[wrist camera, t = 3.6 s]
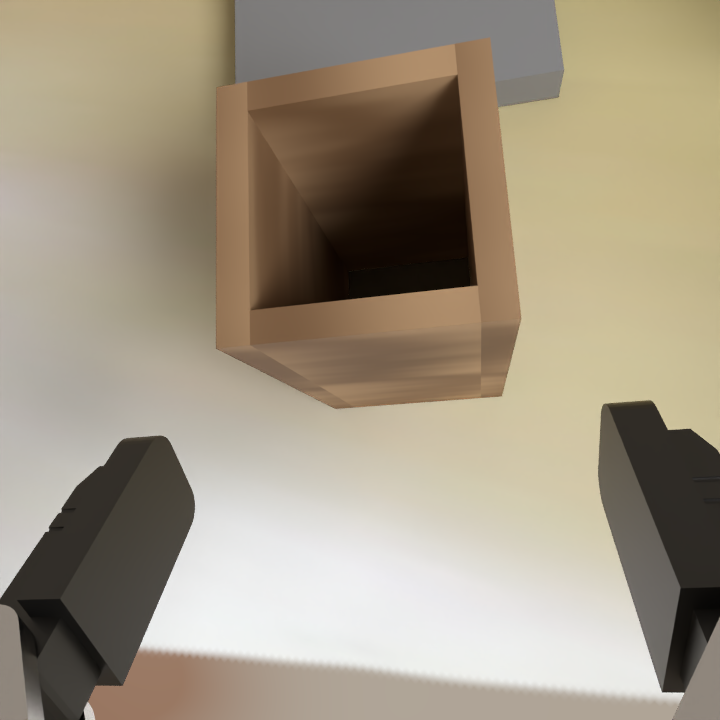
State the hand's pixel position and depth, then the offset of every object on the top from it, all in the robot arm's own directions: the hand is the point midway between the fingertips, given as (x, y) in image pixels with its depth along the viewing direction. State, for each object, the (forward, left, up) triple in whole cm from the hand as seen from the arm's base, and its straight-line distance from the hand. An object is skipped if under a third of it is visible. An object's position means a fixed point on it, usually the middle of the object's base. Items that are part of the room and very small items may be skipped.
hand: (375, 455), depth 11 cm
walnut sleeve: (0, -5, -10) cm, 11 cm away
